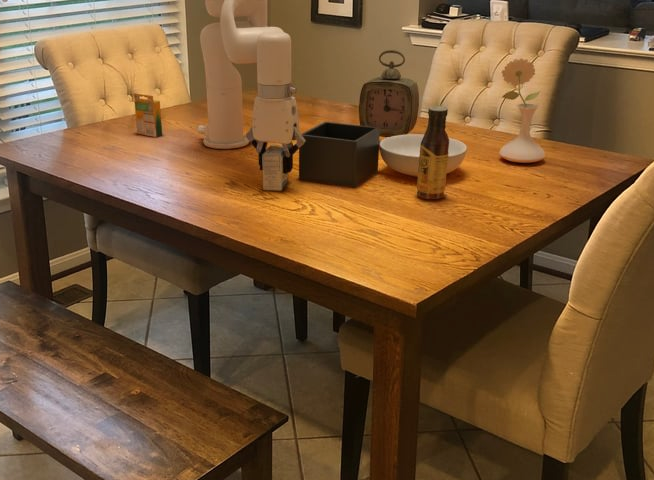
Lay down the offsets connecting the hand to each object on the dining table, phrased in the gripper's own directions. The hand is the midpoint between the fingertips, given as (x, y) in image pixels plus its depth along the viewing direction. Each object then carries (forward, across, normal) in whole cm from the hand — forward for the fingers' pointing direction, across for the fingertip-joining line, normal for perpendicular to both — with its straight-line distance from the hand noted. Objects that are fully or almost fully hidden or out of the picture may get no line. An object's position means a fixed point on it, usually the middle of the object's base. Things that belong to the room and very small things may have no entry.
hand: (275, 169), depth 188 cm
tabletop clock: (+4, -11, -45) cm, 47 cm away
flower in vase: (+4, -46, -46) cm, 65 cm away
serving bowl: (+4, -27, -25) cm, 37 cm away
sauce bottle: (+4, -35, -8) cm, 36 cm away
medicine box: (+4, 0, 0) cm, 4 cm away
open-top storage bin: (+4, -10, -14) cm, 18 cm away
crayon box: (+4, +55, -27) cm, 61 cm away
